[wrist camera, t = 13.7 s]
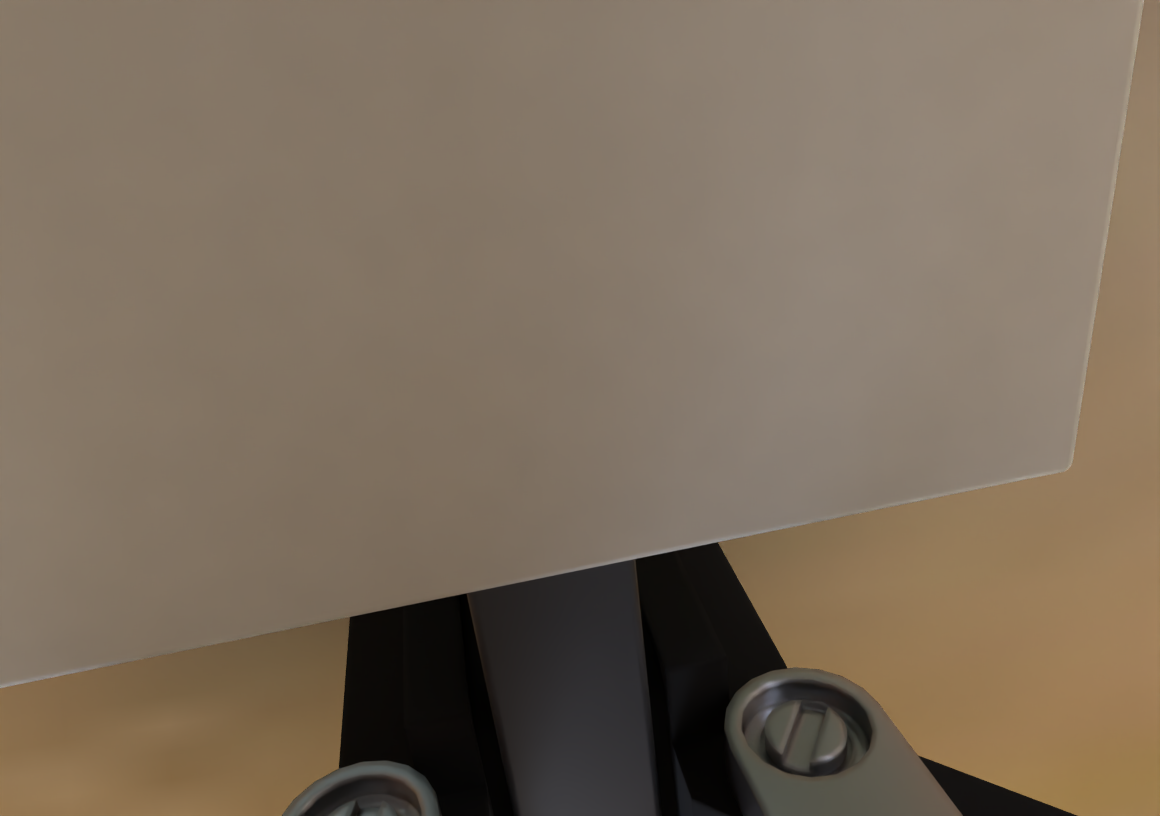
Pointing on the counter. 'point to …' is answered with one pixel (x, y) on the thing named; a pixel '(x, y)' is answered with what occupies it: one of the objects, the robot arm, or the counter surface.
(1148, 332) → the counter surface
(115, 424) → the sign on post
